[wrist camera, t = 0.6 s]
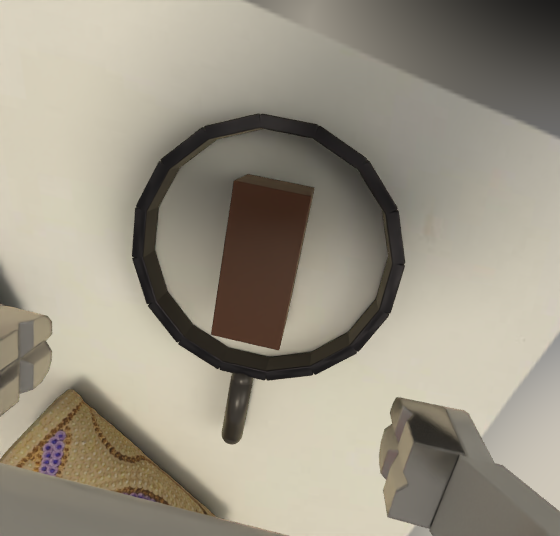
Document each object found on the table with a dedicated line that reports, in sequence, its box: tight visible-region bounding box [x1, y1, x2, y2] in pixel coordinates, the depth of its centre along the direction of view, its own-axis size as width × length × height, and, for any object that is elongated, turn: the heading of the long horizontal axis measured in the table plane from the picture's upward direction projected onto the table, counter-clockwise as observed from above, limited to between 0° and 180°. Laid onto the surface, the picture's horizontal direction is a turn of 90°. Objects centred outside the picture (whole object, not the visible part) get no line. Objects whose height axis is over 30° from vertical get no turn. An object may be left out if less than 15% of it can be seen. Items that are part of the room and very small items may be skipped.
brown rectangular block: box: [211, 174, 314, 350], centre depth 27 cm, size 10×4×4 cm, turn 169°
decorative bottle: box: [0, 390, 215, 517], centre depth 33 cm, size 26×8×7 cm, turn 43°
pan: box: [132, 114, 405, 444], centre depth 28 cm, size 24×18×2 cm
